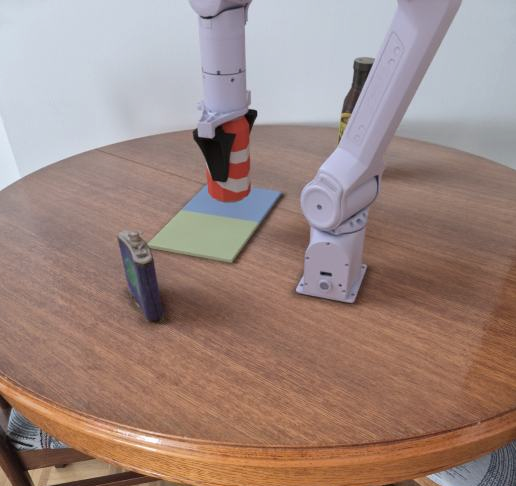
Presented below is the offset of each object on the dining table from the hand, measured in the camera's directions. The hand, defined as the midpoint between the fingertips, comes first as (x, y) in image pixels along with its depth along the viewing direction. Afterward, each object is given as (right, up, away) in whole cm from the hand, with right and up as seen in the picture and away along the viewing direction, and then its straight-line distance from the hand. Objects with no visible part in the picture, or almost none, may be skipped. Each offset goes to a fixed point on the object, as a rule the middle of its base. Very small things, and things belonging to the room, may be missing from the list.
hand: (228, 170), depth 79 cm
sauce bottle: (+22, +7, +24) cm, 33 cm away
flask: (-11, -20, -7) cm, 24 cm away
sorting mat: (-2, -5, +11) cm, 12 cm away
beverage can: (0, -3, +3) cm, 4 cm away
